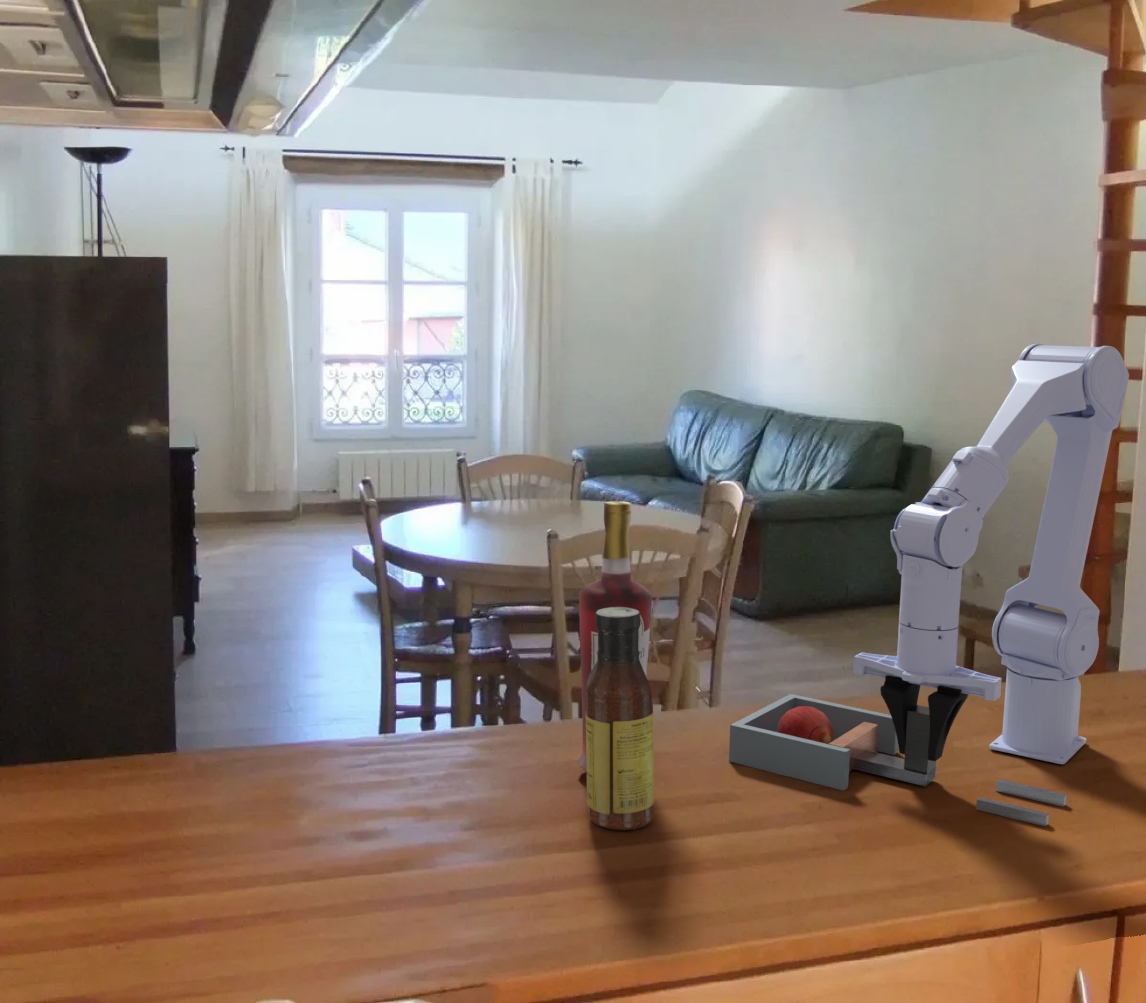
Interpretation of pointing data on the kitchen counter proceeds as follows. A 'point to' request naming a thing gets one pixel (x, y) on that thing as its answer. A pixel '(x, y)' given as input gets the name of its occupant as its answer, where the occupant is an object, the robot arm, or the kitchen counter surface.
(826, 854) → the kitchen counter surface
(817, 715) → the onion
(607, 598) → the liquor
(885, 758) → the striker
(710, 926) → the kitchen counter surface
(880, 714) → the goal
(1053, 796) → the rail
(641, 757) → the sauce bottle
